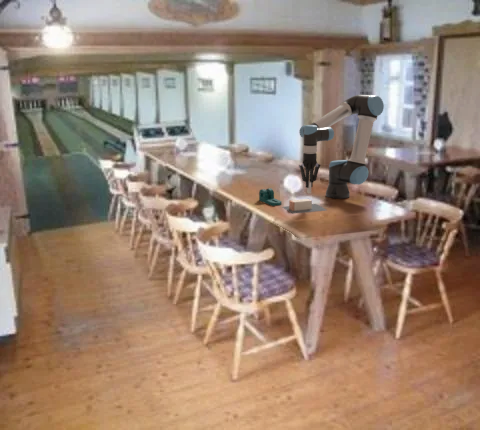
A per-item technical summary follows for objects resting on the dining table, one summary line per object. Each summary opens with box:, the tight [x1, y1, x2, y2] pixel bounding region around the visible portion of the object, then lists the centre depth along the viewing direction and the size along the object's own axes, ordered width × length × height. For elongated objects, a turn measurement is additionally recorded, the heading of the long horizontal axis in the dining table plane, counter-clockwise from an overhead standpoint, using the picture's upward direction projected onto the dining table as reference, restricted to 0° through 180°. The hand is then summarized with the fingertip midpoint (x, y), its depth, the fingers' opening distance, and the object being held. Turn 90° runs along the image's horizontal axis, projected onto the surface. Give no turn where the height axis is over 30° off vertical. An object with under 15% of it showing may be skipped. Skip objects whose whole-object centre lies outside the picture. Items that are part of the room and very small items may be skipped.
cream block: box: [288, 198, 313, 211], centre depth 304 cm, size 5×5×12 cm
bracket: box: [258, 187, 282, 207], centre depth 320 cm, size 18×7×8 cm, turn 27°
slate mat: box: [282, 203, 327, 215], centre depth 305 cm, size 22×16×1 cm
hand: (308, 193), depth 303 cm, fingers closed
